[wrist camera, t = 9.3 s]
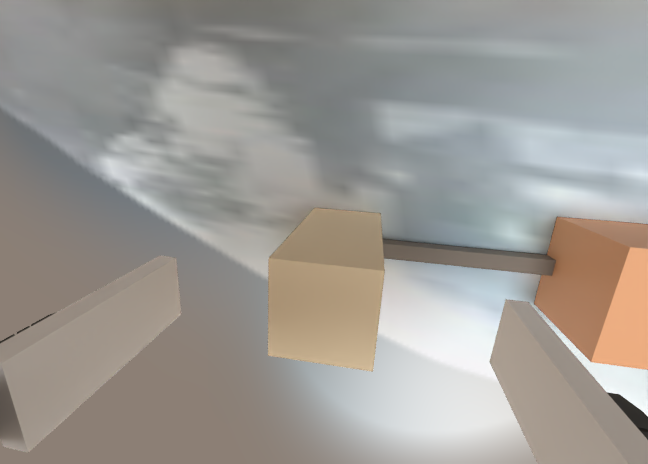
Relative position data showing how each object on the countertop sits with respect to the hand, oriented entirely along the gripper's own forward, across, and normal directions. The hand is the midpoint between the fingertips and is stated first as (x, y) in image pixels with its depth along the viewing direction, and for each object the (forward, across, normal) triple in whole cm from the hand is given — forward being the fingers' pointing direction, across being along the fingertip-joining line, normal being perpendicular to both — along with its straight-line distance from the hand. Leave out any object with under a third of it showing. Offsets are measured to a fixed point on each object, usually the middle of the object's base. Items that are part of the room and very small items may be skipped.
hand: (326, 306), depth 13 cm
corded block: (+10, +8, -1) cm, 13 cm away
